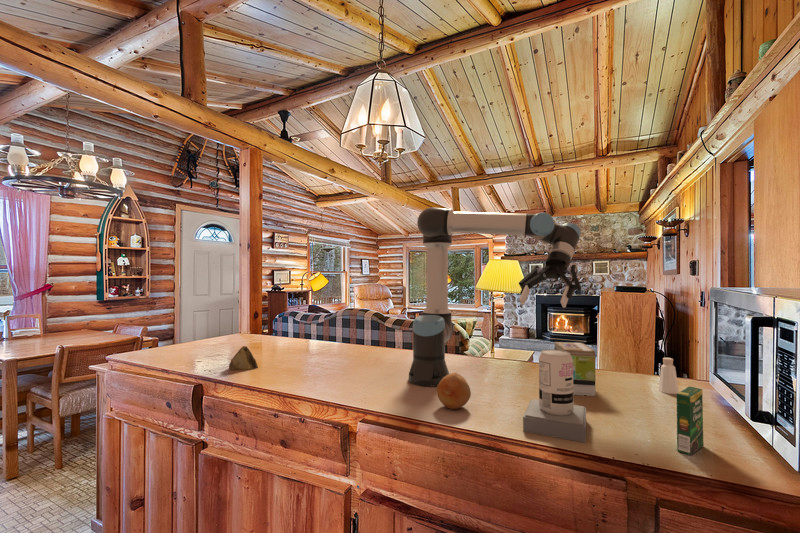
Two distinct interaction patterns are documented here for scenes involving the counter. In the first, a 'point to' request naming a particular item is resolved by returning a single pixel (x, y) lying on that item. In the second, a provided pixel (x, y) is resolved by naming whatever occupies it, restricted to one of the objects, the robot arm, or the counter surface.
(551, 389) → the supplement can
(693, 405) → the coffee box
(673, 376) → the pepper shaker
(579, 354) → the tea box
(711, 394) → the counter surface
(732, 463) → the counter surface
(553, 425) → the base block
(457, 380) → the onion
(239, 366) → the rock
